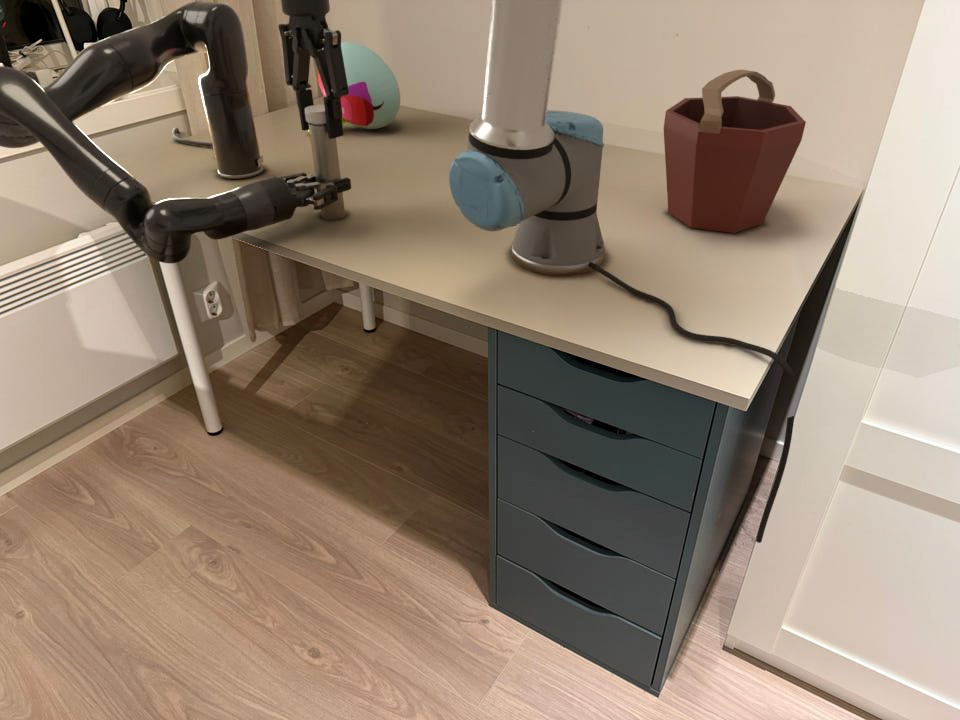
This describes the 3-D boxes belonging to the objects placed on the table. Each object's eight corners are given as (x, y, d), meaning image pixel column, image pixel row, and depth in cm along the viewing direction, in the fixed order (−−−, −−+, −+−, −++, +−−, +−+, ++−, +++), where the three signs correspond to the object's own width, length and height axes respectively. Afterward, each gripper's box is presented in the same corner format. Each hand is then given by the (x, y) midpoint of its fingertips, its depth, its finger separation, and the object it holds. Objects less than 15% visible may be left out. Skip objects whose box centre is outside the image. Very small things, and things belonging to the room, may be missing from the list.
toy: (277, 110, 181) (275, 51, 163) (352, 72, 191) (358, 13, 173) (336, 175, 178) (341, 122, 160) (410, 134, 188) (421, 79, 170)
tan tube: (331, 209, 135) (318, 107, 125) (350, 213, 134) (337, 111, 123) (316, 217, 132) (301, 113, 122) (334, 221, 130) (321, 117, 120)
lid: (299, 121, 122) (298, 109, 121) (318, 114, 126) (316, 103, 125) (323, 125, 120) (321, 113, 119) (341, 118, 124) (339, 106, 123)
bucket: (710, 250, 119) (740, 96, 105) (622, 208, 134) (638, 69, 120) (804, 218, 129) (843, 75, 115) (713, 183, 145) (736, 53, 131)
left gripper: (243, 213, 127) (322, 189, 137) (285, 236, 119) (367, 209, 129) (234, 173, 123) (317, 151, 133) (278, 194, 115) (362, 168, 125)
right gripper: (362, -12, 108) (375, 138, 121) (285, -21, 119) (305, 118, 132) (323, -7, 104) (341, 149, 116) (247, -16, 115) (271, 126, 127)
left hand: (341, 179), depth 131 cm, fingers closed on tan tube, 4 cm apart
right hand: (322, 132), depth 124 cm, fingers open, 7 cm apart
